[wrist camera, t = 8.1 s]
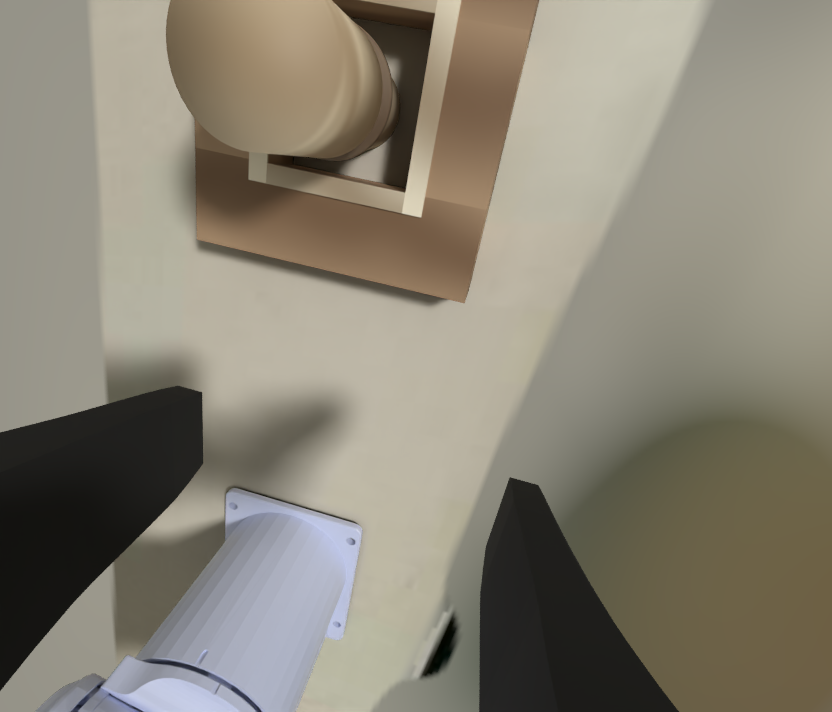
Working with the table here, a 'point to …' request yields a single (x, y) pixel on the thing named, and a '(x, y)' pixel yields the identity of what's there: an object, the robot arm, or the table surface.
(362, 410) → the table surface
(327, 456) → the table surface
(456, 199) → the board
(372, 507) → the table surface
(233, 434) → the table surface
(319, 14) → the peg
